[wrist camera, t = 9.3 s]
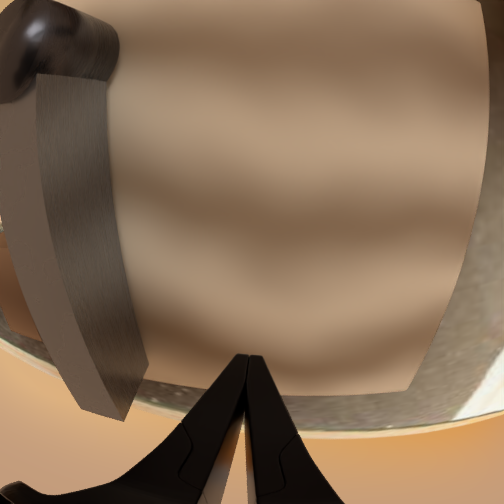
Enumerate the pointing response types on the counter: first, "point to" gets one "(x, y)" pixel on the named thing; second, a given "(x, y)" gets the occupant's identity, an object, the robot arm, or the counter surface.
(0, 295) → the block
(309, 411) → the counter surface
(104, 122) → the swing bar
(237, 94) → the tan flat square sheet
